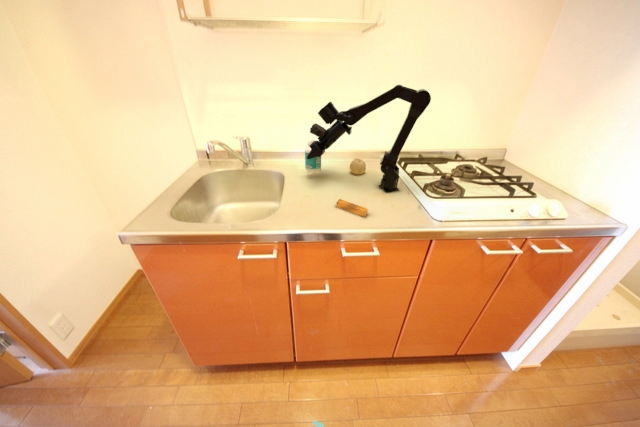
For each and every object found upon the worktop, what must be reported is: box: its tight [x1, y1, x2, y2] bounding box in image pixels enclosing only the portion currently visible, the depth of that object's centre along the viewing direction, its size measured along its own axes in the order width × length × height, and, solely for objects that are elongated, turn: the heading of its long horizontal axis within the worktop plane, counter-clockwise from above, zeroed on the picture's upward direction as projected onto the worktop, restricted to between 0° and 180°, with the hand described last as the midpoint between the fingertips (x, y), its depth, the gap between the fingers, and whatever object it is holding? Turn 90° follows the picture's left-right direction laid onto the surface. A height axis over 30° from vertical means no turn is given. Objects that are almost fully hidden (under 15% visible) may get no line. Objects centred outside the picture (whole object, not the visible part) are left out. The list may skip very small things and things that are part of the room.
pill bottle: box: [304, 140, 322, 174], centre depth 104 cm, size 8×7×14 cm
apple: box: [349, 158, 367, 175], centre depth 113 cm, size 8×8×8 cm
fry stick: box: [335, 198, 369, 218], centre depth 84 cm, size 12×2×2 cm, turn 54°
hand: (310, 155), depth 104 cm, fingers closed on pill bottle, 7 cm apart
